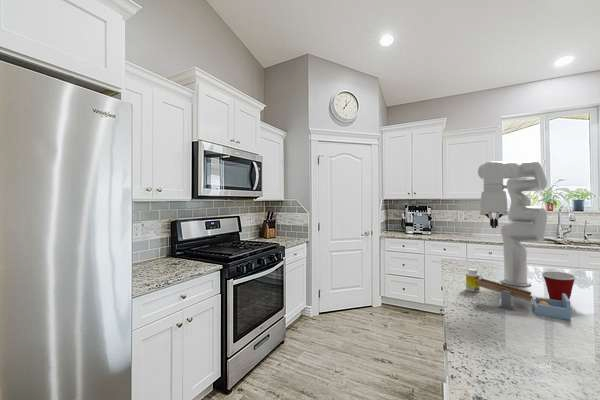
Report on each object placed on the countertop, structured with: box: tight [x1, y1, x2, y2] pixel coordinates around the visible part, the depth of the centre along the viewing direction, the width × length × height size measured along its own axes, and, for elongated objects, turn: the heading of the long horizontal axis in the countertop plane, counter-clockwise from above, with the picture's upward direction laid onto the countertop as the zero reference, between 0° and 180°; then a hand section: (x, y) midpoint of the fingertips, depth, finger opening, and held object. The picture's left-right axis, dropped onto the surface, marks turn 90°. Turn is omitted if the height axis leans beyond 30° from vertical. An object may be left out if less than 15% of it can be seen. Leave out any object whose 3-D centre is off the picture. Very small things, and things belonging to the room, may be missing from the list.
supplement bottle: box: [465, 268, 481, 293], centre depth 134 cm, size 6×6×10 cm
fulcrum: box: [498, 284, 515, 311], centre depth 114 cm, size 10×5×7 cm, turn 143°
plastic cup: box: [541, 270, 577, 301], centre depth 117 cm, size 11×11×12 cm
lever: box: [477, 275, 533, 303], centre depth 117 cm, size 12×18×3 cm
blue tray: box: [531, 293, 572, 322], centre depth 106 cm, size 10×10×7 cm
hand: (494, 227), depth 127 cm, fingers closed
